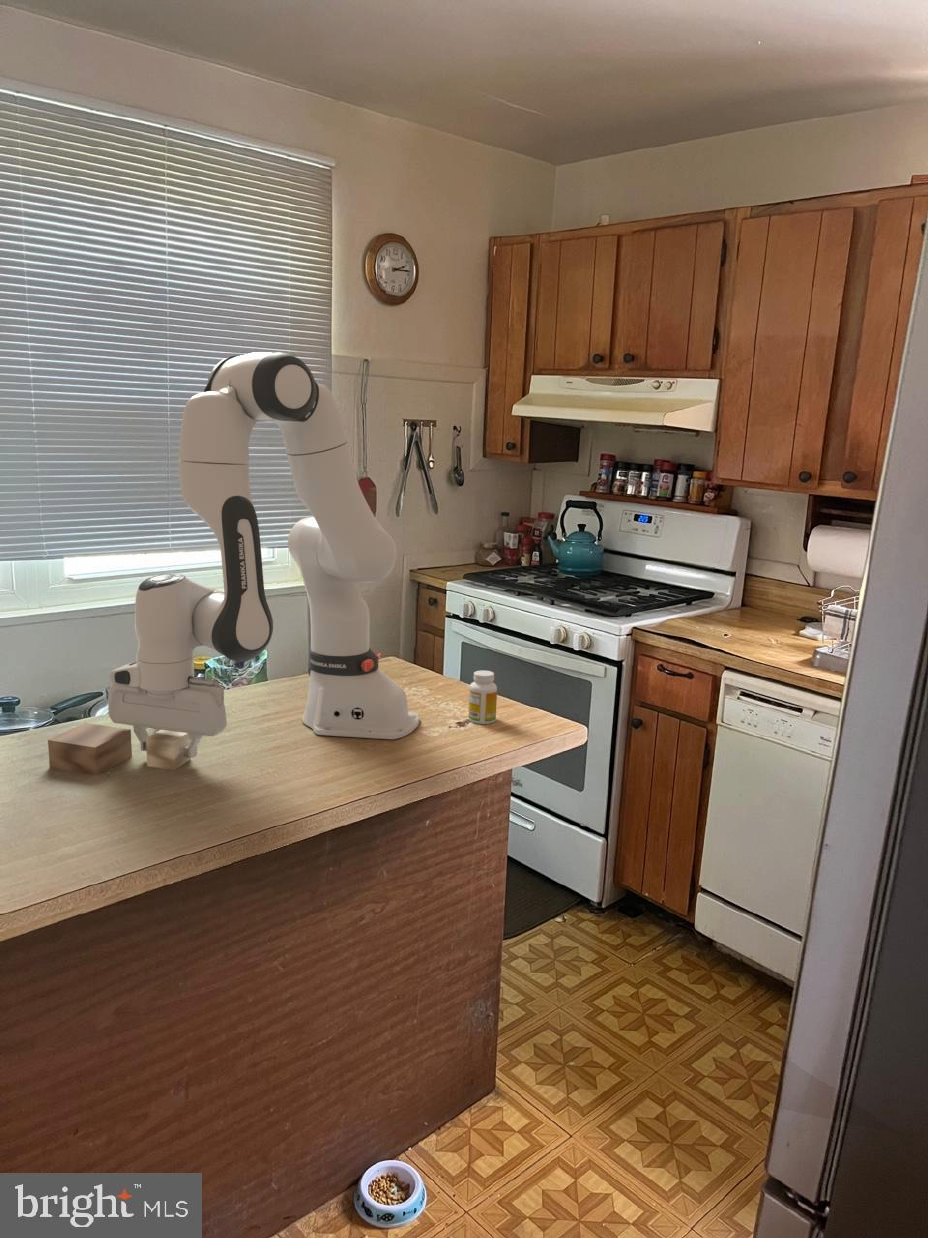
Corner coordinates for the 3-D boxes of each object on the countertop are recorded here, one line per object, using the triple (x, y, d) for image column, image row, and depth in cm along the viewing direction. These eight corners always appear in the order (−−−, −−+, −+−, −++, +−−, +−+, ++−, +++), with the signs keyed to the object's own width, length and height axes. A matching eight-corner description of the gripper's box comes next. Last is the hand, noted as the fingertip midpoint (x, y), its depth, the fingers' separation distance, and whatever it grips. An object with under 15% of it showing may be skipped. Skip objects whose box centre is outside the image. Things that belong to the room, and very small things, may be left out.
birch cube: (190, 760, 151) (189, 732, 150) (173, 770, 147) (172, 741, 145) (164, 756, 152) (163, 728, 151) (147, 766, 148) (145, 738, 147)
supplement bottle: (495, 716, 179) (497, 669, 177) (495, 725, 174) (498, 677, 172) (468, 715, 179) (470, 668, 177) (468, 724, 174) (470, 676, 172)
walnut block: (132, 757, 152) (130, 729, 151) (96, 777, 143) (95, 747, 142) (87, 750, 154) (85, 722, 153) (49, 769, 146) (47, 740, 145)
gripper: (232, 675, 146) (234, 754, 150) (124, 662, 152) (128, 739, 155) (212, 686, 141) (214, 768, 144) (100, 672, 146) (104, 752, 149)
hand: (168, 753), depth 149 cm, fingers open, 7 cm apart
